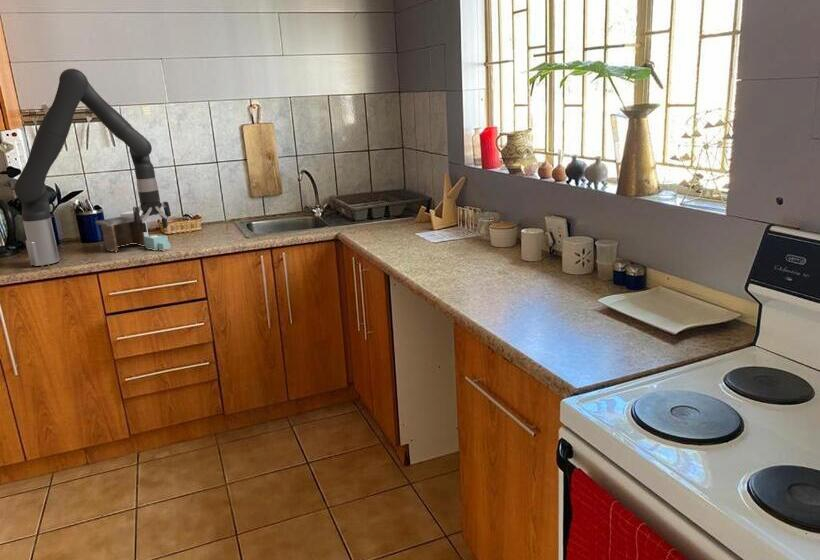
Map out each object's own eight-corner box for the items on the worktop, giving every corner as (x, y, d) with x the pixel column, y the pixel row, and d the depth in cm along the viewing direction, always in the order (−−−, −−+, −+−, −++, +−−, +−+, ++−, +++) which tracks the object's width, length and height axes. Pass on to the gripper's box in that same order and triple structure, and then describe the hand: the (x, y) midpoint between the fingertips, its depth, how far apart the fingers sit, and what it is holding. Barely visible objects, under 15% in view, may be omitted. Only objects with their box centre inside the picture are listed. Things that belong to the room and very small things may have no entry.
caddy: (174, 249, 262) (172, 236, 261) (160, 252, 258) (158, 239, 257) (159, 245, 270) (157, 233, 269) (145, 248, 266) (143, 236, 265)
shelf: (111, 253, 260) (106, 223, 257) (100, 250, 267) (95, 221, 263) (150, 245, 271) (145, 216, 268) (138, 242, 278) (133, 214, 275)
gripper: (135, 193, 251) (142, 234, 256) (169, 187, 261) (176, 227, 266) (126, 192, 256) (133, 232, 261) (160, 186, 266) (167, 225, 271)
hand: (155, 229), depth 263 cm, fingers open, 8 cm apart
